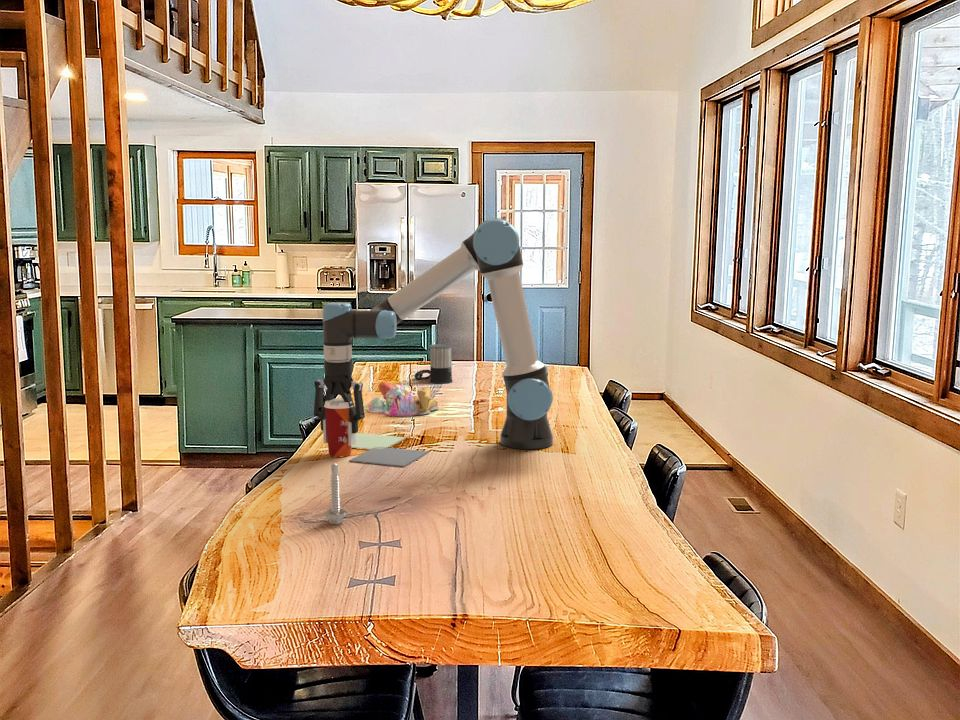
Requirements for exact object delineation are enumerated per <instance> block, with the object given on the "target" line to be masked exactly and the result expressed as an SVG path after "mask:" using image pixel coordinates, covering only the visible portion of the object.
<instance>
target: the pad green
mask: <svg viewBox="0 0 960 720" xmlns="http://www.w3.org/2000/svg"><path fill="white" fill-rule="evenodd" d="M404 440H406V436H405V437H404V436H396V435H395V436H394V435H383V434H373V433H372V434H371V433H360V432H357V433H356V444H354V445H352V446H351V449H352V448H362V449H369V450H370V449H373V448H374V449H375V448H376V449H377V450H379V449H380V450H381V449H382V447H383V449H384V448H388V447H389V448H391V447H392V446H395V445H396V444H398V443H400V442H402V441H404ZM378 448H379V449H378ZM362 449H361V450H362ZM369 450H368V451H369Z"/></svg>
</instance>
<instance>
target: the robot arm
mask: <svg viewBox="0 0 960 720" xmlns="http://www.w3.org/2000/svg"><path fill="white" fill-rule="evenodd" d="M523 266H524V261H523V257H522V253H521V247H520V236H519V233H518V231H517V229H516V228H515V226H514V225H513V224H512V223H511V222H509V221H508V220H506V219H503V218H498V217H496V218H490V219H487V220H484V221H482V222H481V223H480V224H479V225H478V226H477V228H476V229H475V231H474V232H473V233H472V234H471V235H470V236H468V237H467V238H466V239H464V240H463V241H462V242H461V244H460V247H459V248H458V249H456V250H455V251H454V252H452V253H451V254H449V255H448V256H446V257H445V258H444V259H442V260H440V261H439V262H438V263H436V264H435V265H433V266H432V267H430V268H429V269H428V270H426V271H425V272H423V273H422V274H420V275H419V276H418V277H416V278H415V279H413V280H412V281H410V282H409V283H408V284H405V286H403V287H401V288H400V289H399V290H397V291H395V293H393V294H391V295H390V296H389V297H388V298H386V299H384V300H383V301H381V302H380V303H378V304H377V305H375V306H373V307H372V308H371V309H369V310H356V309H355V310H354V309H353V308H352V304H351V303H349V302H328V303H325V304H324V305H323V307H322V308H323V310H322V311H323V312H322V330H323V333H322V334H323V335H322V336H323V359H324V360H325V361H324V362H323V373H324V378H323V379H318V380H315V381H314V388H315V393H314V403H313V404H314V406H313V407H314V408H313V416H314V417H317V418H319V420H320V430H321V431H322V433H323V436H322V438H323V444H328V439H327V426H326V414H325V407H324V405H325V401H330V400H333V399H335V398H334V397H336V395H339V396H341V397H340V398H343V400H344V402H348V403H349V407H350V408H349V417H350V420H351V421H350V422H348V444H349V446H352V445H354V444H356V433H359V432H358V431H359V421H361V420H363V419H365V418H366V417H365V416H366V415H365V409H364V401H363V400H364V399H363V387H364V384H363V382H356V381H354V379H353V361H352V359H353V347H352V345H353V344H352V343H353V342H352V341H353V340H352V339H377V340H378V339H379V340H386V339H394V338H395V337H396V335H397V331H398V330H397V329H398V327H397V325H398V324H399V323H401V322H403V321H404V320H405V319H407V318H408V317H410V316H412V315H413V314H414V313H415V312H417V311H418V310H419V309H421V308H423V307H424V306H425V305H427V304H429V303H430V302H431V301H433V300H434V299H436V298H437V297H439V296H440V295H442V294H443V293H444V292H446V291H448V290H449V289H450V288H452V287H453V286H455V285H456V284H458V283H459V282H461V281H463V280H464V279H465V278H467V277H469V275H471V274H473V273H474V272H476V271H479V274H480V275H481V276H482V277H484V279H486V280H487V282H488V287H489V292H490V297H491V302H492V306H493V310H494V315H495V319H496V325H497V329H498V332H499V333H498V334H499V339H500V343H501V347H502V350H503V356H504V360H505V364H506V366H505V369H504V370H503V371H502V377H503V381H504V382H503V383H504V386H505V390H506V391H505V392H506V416H505V421H504V424H503V427H502V430H501V433H500V436H499V442H500V445H501V446H504V447H507V448H510V449H516V450H517V449H518V450H538V449H545V448H548V447H551V446H552V445H553V444H554V443H553V442H554V439H553V438H554V436H553V433H552V429H551V425H550V422H549V419H548V412H549V410H550V409H551V407H552V404H553V401H554V399H553V398H554V396H553V392H552V390H551V387H550V384H549V378H548V377H549V372H548V367H547V365H546V364H545V363H543V362H542V361H540V360H539V358H538V354H537V350H536V349H537V348H536V344H535V340H534V335H533V331H532V325H531V322H530V317H529V316H530V315H529V313H528V308H527V304H526V303H527V302H526V297H525V294H524V289H523V284H522V279H521V274H520V271H521V269H522V268H523ZM325 387H326V388H327V389H326V393H325V397H324V392H325ZM351 389H352V391H353V398H352V392H351ZM350 402H352V403H350ZM351 406H353V407H351Z"/></svg>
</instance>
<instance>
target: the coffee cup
mask: <svg viewBox="0 0 960 720" xmlns="http://www.w3.org/2000/svg"><path fill="white" fill-rule="evenodd" d="M324 401H325V400H324ZM350 403H352V402H350ZM324 407H325V414H326V426H327V439H328V443H327V446H328V447H327V449H328V456H329V455H330V457H332V456H336V457H335V458H341V457H340V456H346V457H348V456H347V455H349V456H351V455H352V448H351V446H349V444H348V422H350V421H351V420H350V417H349V408H350V407H349V403H348V402H344V400H343V398H342V397H339V398H338V397H337V398H334V399H333V400H330V401H325V405H324ZM351 407H353V406H351ZM350 454H351V455H350Z"/></svg>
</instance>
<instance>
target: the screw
mask: <svg viewBox="0 0 960 720" xmlns="http://www.w3.org/2000/svg"><path fill="white" fill-rule="evenodd" d="M338 465H339V464H337V463H335V462H333V463H332V464H331V466H330V467H331V474H330V479H331V480H330V484H329V485H330V487H331V488H330V490H331V491H330V492H331V493H330V495H331V497H330V498H331V499H330V501H331V502H330V503H331V504H330V506H331V507H330V509H327V510H326V511H324V512H323V516H324V517H325V518H326V519H327V518H328V519H329V523H330V525H336V526H337V525H341V524H343V518H344V517H346V516H348V511H346V510H345V509H343V508H341V503H340V496H341V495H340V493H341V492H340V484H339V483H340V478H339V477H340V476H339V467H338Z"/></svg>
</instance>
